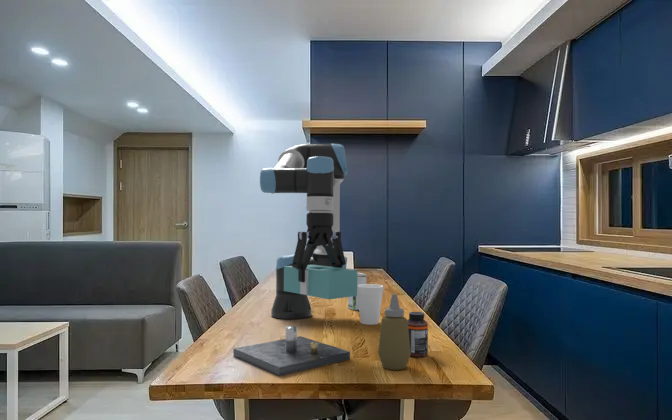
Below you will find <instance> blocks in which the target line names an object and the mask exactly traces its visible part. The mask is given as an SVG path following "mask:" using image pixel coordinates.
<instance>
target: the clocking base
mask: <svg viewBox="0 0 672 420" xmlns="http://www.w3.org/2000/svg"><path fill="white" fill-rule="evenodd" d="M232 352H233V354H232V355H233V357H235V358H237V359H239V360H242V361H244V362H246V363H249V364H251V365H252V366H256V367H258V368H260V369H262V370H265V371H267V372H269V373H270V374H271V373H272V374H274V375H276V376H278V377H281V376H286V375H289V374H294V373H299V372H303V371H306V370H310V369H311V370H312V369H315V368H319V367H323V366H327V364H328V365H331V363H332V364H336V363H335V362H337V363H339V362H340V361H341V362H344V361H350V360H351V351H349V350H346V349H343V348H339V347H336V346H333V345H331V344H327V343H323V342H321V341H318V340H313V339H310V338H307V337H305V336H302V335H300V336H298V326H295V325H288V326H285V338H284V339H278V340H273V341H267V342H262V343H255V344H250V345H245V346H241V347H234V348H233V351H232ZM341 362H340V363H341Z"/></svg>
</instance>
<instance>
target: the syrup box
mask: <svg viewBox="0 0 672 420" xmlns="http://www.w3.org/2000/svg"><path fill="white" fill-rule="evenodd" d="M361 284H367V273H362V272H357V285H361ZM347 308H348V309H350V310H353V311H359V305H358V297H357V296H352V297H347Z"/></svg>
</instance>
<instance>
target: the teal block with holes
mask: <svg viewBox="0 0 672 420" xmlns="http://www.w3.org/2000/svg"><path fill="white" fill-rule="evenodd" d="M306 270H309V285H308V295H307V297H309V296H310V297H315V298H318V299H319V298H321V299H323V300H324V299H325V300H334V299H344V298H348V297H352V296H357V273H358V269H355V268H354V269H353V268H347V267H346V268H337V267H328V266H320V265H308V266H307V268H306ZM284 291H287V292H292V293H298V294H300V282H299V280H298V269H296V268H293V267H292V266H284ZM303 295H305V294H303Z"/></svg>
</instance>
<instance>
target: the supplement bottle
mask: <svg viewBox="0 0 672 420" xmlns="http://www.w3.org/2000/svg"><path fill="white" fill-rule="evenodd" d="M408 315H409V316H408V319H407V320H408V331H409V341H410V351H411V353H410V357H414V358H424V357H425V356H426V357H427V356H428V354H429V353H428V352H429V335H428V334H429V333H428V332H429V324H428V321H426V320H425V313H424V312H422V311H410V312H409V313H408Z"/></svg>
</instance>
